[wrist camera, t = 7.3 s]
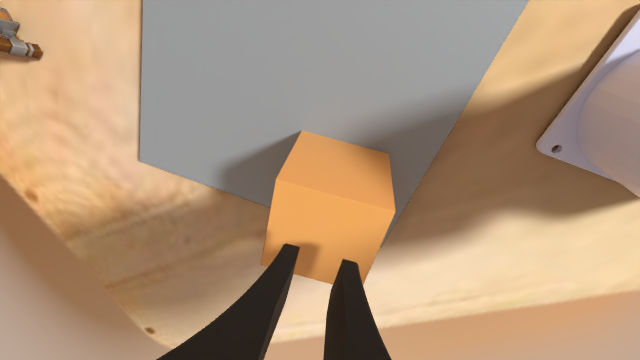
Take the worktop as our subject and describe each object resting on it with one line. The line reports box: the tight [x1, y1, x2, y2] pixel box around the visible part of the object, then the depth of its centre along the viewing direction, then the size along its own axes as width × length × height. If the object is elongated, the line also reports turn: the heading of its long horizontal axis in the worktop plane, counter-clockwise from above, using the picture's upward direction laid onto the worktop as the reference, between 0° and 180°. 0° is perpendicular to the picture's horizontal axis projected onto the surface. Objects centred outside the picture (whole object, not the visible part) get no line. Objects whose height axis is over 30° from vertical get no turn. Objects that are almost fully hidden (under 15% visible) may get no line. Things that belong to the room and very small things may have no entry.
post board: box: [140, 0, 529, 247], centre depth 16 cm, size 18×18×6 cm
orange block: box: [261, 131, 396, 284], centre depth 18 cm, size 5×5×6 cm
